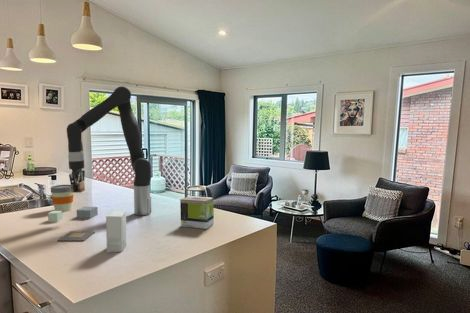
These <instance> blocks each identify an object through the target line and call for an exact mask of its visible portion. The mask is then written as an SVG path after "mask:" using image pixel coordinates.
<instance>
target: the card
mask: <svg viewBox="0 0 470 313" xmlns="http://www.w3.org/2000/svg"><path fill="white" fill-rule="evenodd" d="M95 233H96V231H95V230H94V231H93V230H92V231H91V230H90V231H89V230H88V231H87V230H86V231H83V230H82V231H81V230H79V231H78V230H77V231H69V232H67V233H66V234H64V235H63V236H61V237H60V238H58V239H57V241H56V242H85V241H86V240H88V239H89V238H90V237H92V236H93V235H94V234H95Z"/></svg>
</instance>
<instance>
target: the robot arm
mask: <svg viewBox="0 0 470 313" xmlns="http://www.w3.org/2000/svg"><path fill="white" fill-rule="evenodd" d="M131 97H132V92H131V90H130V89H129V88H128V87H126V86H123V85H121V86H118V87H116V88H115V89H114V90H113V92H112V94H110V95H109V96H108V97H107V98H106V99H104V100H103V101H102V102H100V103H98V104H97V105H96V106H93V107H92V108H91V109H89V110H88V111H86V112H85V113H83V114H82V115H81V116H80V118H79V117H78V119H77V120H75V121H73V122H72V123H69V124H68V125H67V127H66V136H67V137H66V138H67V142H68V143H67V148H68V153H67V156H68V157H67V158H68V168H69V170H71V173H69V174H68V177H69V178H68V179H69V182H70V185H73V191H74V192H78V182H85V173H86V171H85V170H83V169H85V156H84V155H85V154H84V148H83V147H84V146H83V140H82V134H83V132H84V131H86V130H88V128H90V127H92V126H93V125H95V124H96V123H97V122H99V121H100V120H101V119H102V118H104V117H105V116H106V115H108V114H109V112H112V111H113V110H114V109H116V108H117V109H118V112H119V118H120V124H121V128H122V133H123V136H124V139H125V142H126V146H127V148H128V152H129V156H130V164H131V168H132V171H134V180H133V204H134V205H133V208H134V215H135V216H146V215H150V214H151V213H152V196H151V183H150V182H151V180H152V178H151V177H152V165H151V162H150V161H149V160H148V159H147V158H145V155H144V153H143V150H142V134H141V130H140V126H139V123H138V120H137V118H136V116H135V113H134V112H133V108H132V102H131Z"/></svg>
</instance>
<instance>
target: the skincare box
mask: <svg viewBox="0 0 470 313" xmlns="http://www.w3.org/2000/svg"><path fill="white" fill-rule="evenodd" d="M105 219H106V220H105V227H106V228H105V230H106V231H105V232H106V234H105V235H106V236H105V237H106V253H123V251H124V249H125V248H126V246H127V211H126V210H111V211H110V212H109V213H108V214H107V215H106V216H105Z"/></svg>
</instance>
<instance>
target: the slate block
mask: <svg viewBox="0 0 470 313" xmlns="http://www.w3.org/2000/svg"><path fill="white" fill-rule="evenodd" d="M98 212H99V210H98V206H82V207H81V208H78V209H76V219H87V220H89V219H90V220H91V219H93V218H94V217H97V216H99V215H98V214H99V213H98Z"/></svg>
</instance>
